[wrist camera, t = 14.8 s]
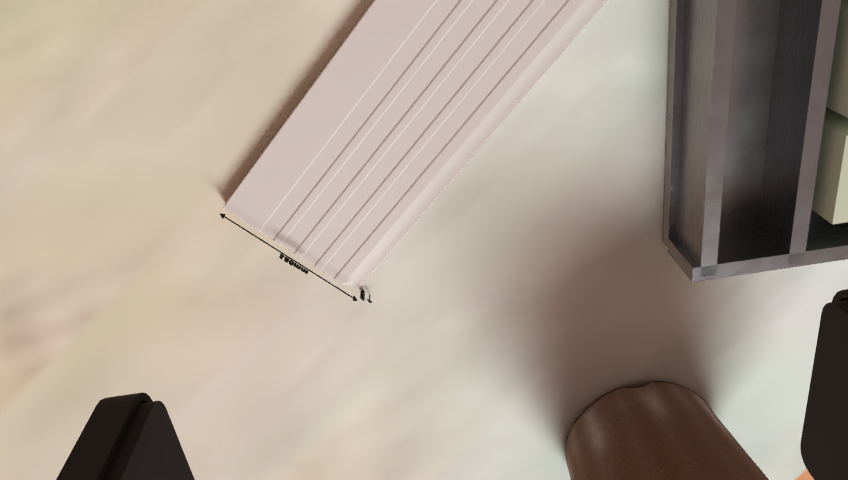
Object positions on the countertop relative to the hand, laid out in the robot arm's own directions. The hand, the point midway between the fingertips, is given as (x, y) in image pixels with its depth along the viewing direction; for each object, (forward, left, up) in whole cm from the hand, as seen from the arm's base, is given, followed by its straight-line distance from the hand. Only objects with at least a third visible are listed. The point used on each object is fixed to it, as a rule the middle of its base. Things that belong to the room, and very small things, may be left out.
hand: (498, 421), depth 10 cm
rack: (+8, +22, -33) cm, 41 cm away
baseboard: (+3, +2, -34) cm, 34 cm away
